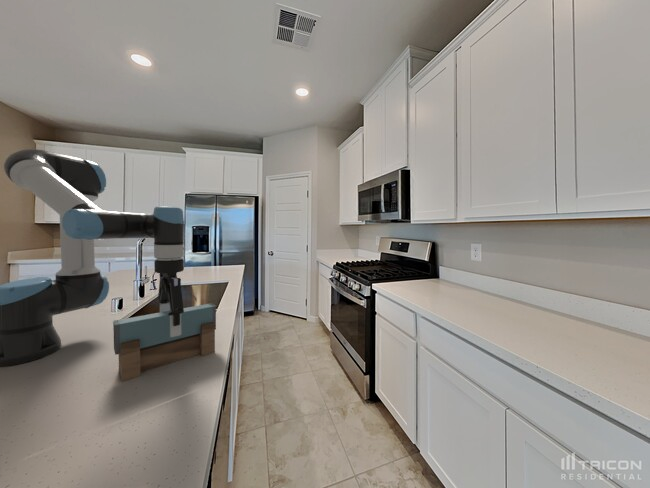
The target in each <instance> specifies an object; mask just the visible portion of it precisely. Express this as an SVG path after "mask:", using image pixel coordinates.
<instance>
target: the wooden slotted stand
mask: <svg viewBox="0 0 650 488" xmlns="http://www.w3.org/2000/svg"><path fill="white" fill-rule="evenodd" d="M215 332H216V329H215V322H211V323H206V324H202V325H201V333H199V334H195V335H192V336H188V337H184V338H180V339H176V340H172V341H168V342H164V343H160V344H156V345H152V346H148V347H144V348H140V339H137V340H133V341H128V342H124V343H121V353H120V354H118V372H119V376H120V380H121V382H124V381H129V380H131V379H134V378H138V377H140V376H141V373H143V372H145V371H147V370H148V371H149V370H151V369H155V368H158V367H162V366H164V365H165V366H166V365H168V364H171V363H175V362H178V361H181V360H184V359H188V358H190V357H194V356H198V355H200V356H201V357H205V356H207V355H210V354H214V353H215V352H216V333H215Z"/></svg>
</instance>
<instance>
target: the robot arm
mask: <svg viewBox="0 0 650 488" xmlns="http://www.w3.org/2000/svg"><path fill="white" fill-rule="evenodd" d="M3 170H4V174H6V176H7V177H8V179H9V180H10V181H11V182H12V183H13V184H15V185H16V186H18V187H19V188H22V189H24V190H27V191H30V192H31V193H32V194H33V195H35V196H36V197H37V198H39V199H40V200H41V202H43V203H44V204H46V205H47V206H48V207H50V208H51V209H52V210H53V211H55V212H56V214H58V215H59V232H60V233H59V234H60V235H59V236H60V239H59V240H60V261H61V263H60V264H61V268H60V269H59V270H58V271H57V272H56V273H55V279H53V280H52V279H51V277H49V276H39V277H29V278H25V279H19V280H14V281H10V282H7V283H3V284H1V285H0V367H8V366H15V365H20V364H25V363H29V362H32V361H36V360H38V359H42V358H44V357H47V356H50V355H52V354H54V353H56V352H57V351H59V350H60V349H61V347H62V339H61V337H60V335H59V334H58V332H57V330H56V329H55V327H54V322H53V321H54V320H53V316H57V315H60V314H61V315H62V314H65V313H69V312H73V311H77V310H82V309H88V308H91V307H95V306H98V305H99V304H102V303H103V302H104V301H105V300H106V299H107V297H108V294H109V292H110V282H109V280H108V278H107V276H106V275H104V274H102V273H101V270H100V269H99V268H97V267H96V266H95V265H96V264H95V263H96V262H95V241H94V240H103V239H104V240H107V239H108V240H109V239H153V240H154V241H153V242H154V243H153V258H155V260H154V261H153V262H154V272H155V273H157V274H158V275H159V285H158V293H157V299H158V302H159V313H160V312H165V311H171V312H170V313H169V314H168V316H170V337H175V336H179V335H181V313H183V312H184V309H183V308H184V303H183V302H184V301H183V294H182V282H181V281H182V279H181V277H178V273H181V272H183V271H184V269H185V263H184V262H185V260H184V259H183V258H184V251H186V247H185V246H184V244H185V243H184V237H185V236H184V235H185V232H184V225H185V224H184V223H185V220H184V211H183V209H182V208H180V207H176V206H155V207H154V208H153V213H143V212H141V213H140V212H126V211H125V212H124V211H123V212H122V211H112V210H111V211H110V210H104V209H103V208H102V207H100V206H99V205H97V204H96V203H95V201H96V200H98V199H99V195H100V194H102V193H103V192H104V191H105V190H106V187H107V176H106V174H105V172H104V170H103V168H102V167H100V165H99V164H98V163H96V162H94V161H92V160H87V159H84V158H81V157H76V156H71V155H65V154H61V153H57V152H51V151H48V150H45V149H36V148H31V149H29V148H27V149H26V148H25V149H22V150H18V151H15V152H13V153H11V154H10V155H9V156H8V157H7V158H6V159H5V161H4V165H3Z"/></svg>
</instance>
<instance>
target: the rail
mask: <svg viewBox="0 0 650 488" xmlns="http://www.w3.org/2000/svg"><path fill="white" fill-rule="evenodd" d="M183 309H184V312H183V313H181V335H179V336H175V337H170V316H168V314H169V313H170V312H171V310H170V311H165V312H160V311H159V312H155V313H150V314H145V315H137V316H134V317H133V316H132V317H128V318H121V319H115V320H112V325H113V327H112V328H113V329H112V330H113V350H114V354H115V355H119V354H120V353H121V343H124V342H128V341H133V340H137V339H140V348H144V347H148V346H152V345H156V344H160V343H164V342H168V341H172V340H176V339H180V338H184V337H188V336H192V335H195V334H199V333H201V325H202V324H206V323H211V322H215V330H217V305H215V304H214V303H212V302H210V303H205V304H200V305H199V304H198V305H194V306H188V307H183Z"/></svg>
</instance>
